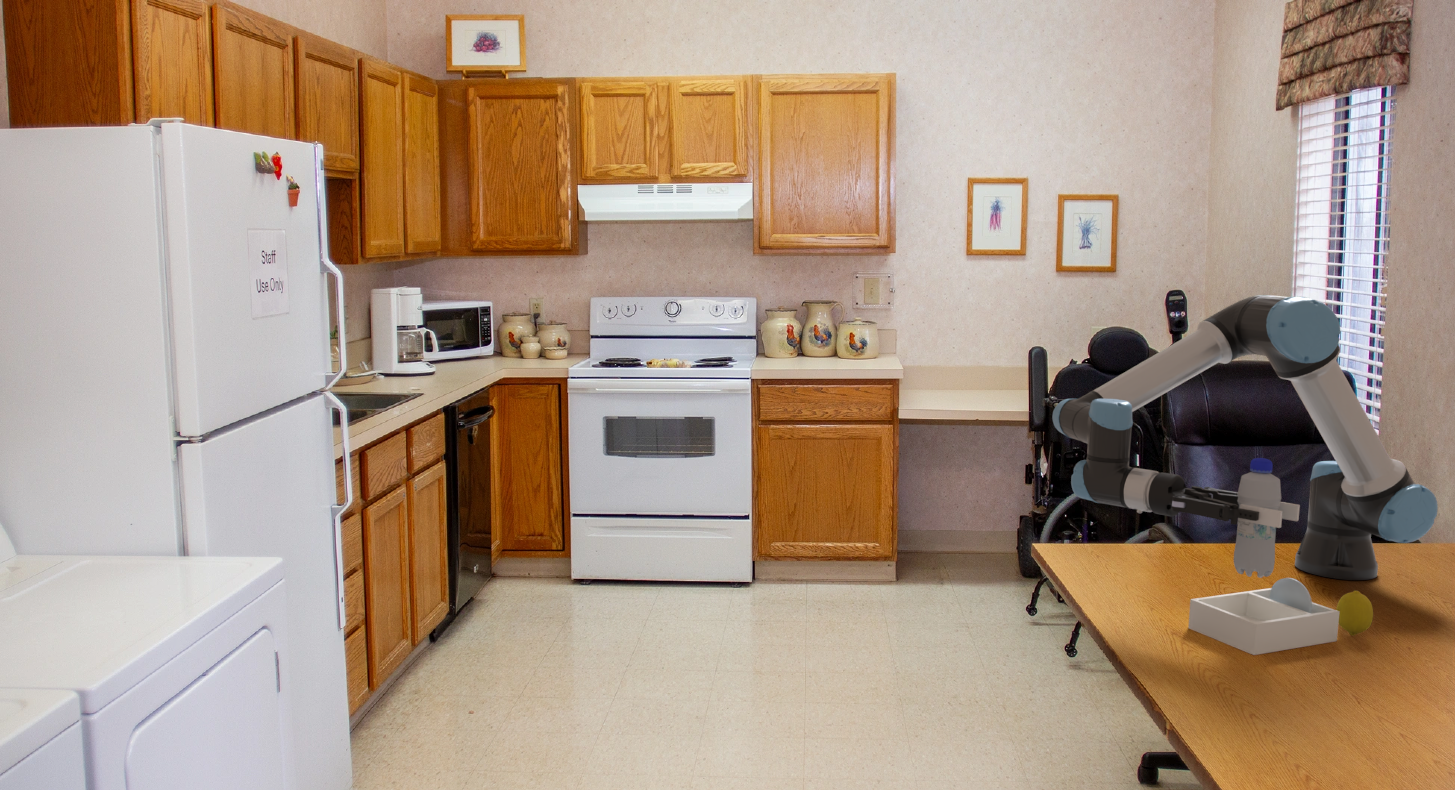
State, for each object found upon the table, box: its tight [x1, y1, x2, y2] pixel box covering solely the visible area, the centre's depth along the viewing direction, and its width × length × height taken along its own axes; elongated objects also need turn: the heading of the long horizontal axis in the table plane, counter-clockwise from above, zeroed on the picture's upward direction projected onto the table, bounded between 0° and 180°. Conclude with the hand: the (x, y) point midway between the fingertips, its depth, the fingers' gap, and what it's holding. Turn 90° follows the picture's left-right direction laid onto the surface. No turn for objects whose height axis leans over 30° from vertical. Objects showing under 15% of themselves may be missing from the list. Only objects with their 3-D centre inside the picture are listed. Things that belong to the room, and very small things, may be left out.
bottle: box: [1233, 457, 1282, 579], centre depth 189 cm, size 7×7×20 cm
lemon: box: [1335, 590, 1374, 637], centre depth 192 cm, size 6×6×8 cm
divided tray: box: [1188, 577, 1340, 656], centre depth 192 cm, size 19×14×9 cm
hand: (1289, 516), depth 185 cm, fingers closed on bottle, 6 cm apart
